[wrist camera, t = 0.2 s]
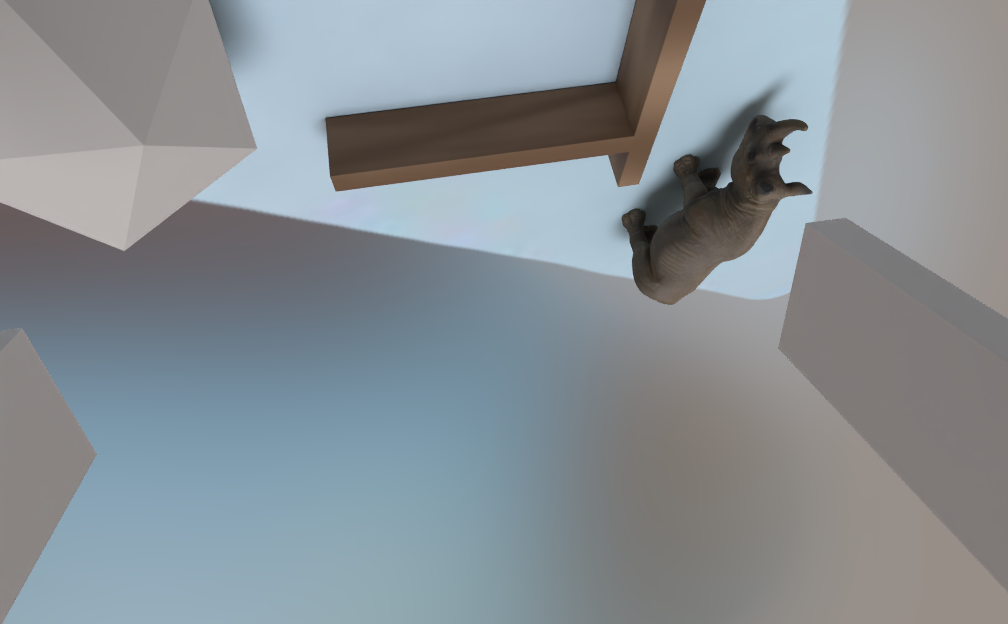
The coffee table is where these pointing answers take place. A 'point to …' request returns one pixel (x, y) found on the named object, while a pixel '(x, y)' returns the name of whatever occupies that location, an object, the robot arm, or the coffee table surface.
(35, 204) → the die
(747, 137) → the rhino figurine
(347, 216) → the coffee table surface
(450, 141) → the frame
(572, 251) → the coffee table surface
